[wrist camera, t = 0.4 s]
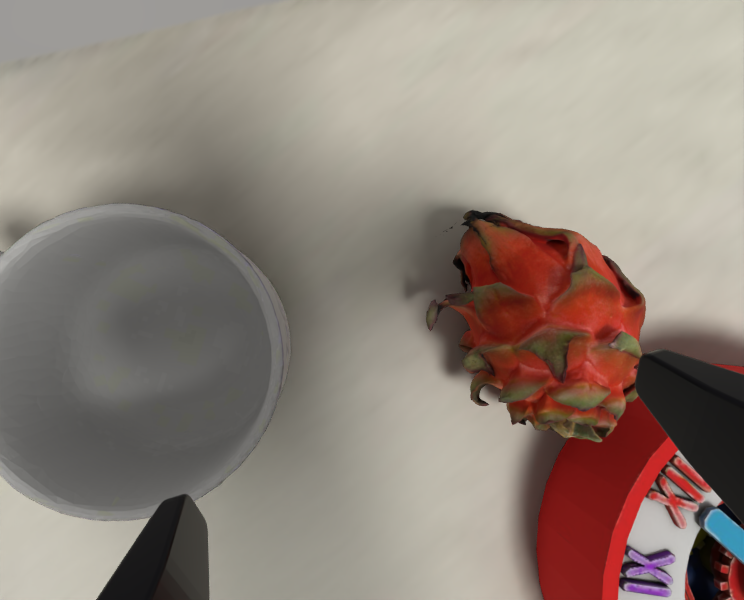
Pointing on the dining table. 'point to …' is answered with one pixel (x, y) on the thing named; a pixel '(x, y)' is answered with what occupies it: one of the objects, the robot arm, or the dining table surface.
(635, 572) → the toy clock
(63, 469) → the teacup
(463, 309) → the dragon fruit
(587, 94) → the dining table surface
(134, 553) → the robot arm
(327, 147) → the dining table surface
